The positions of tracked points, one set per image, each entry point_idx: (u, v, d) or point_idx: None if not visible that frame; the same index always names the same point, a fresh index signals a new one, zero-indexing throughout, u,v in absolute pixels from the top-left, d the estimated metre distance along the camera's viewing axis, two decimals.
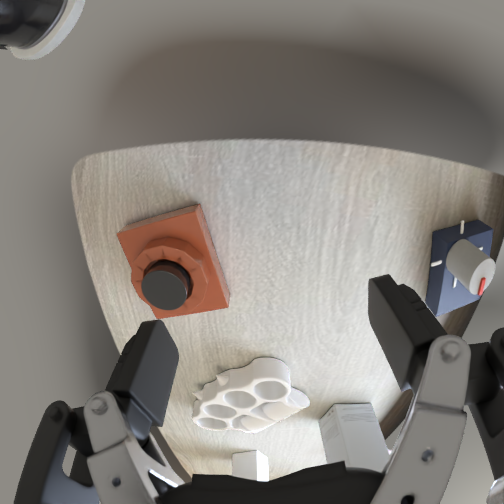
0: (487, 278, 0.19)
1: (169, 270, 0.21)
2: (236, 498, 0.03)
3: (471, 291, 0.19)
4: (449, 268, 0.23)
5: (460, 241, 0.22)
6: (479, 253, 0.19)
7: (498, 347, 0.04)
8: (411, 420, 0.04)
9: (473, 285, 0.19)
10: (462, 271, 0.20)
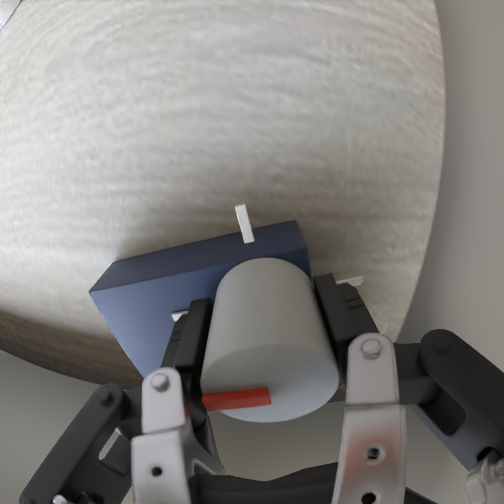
0: (262, 408, 0.07)
1: None
2: (236, 498, 0.03)
3: (213, 368, 0.07)
4: (236, 273, 0.10)
5: None
6: None
7: (428, 349, 0.05)
8: (344, 424, 0.04)
9: (239, 367, 0.07)
10: (268, 306, 0.07)
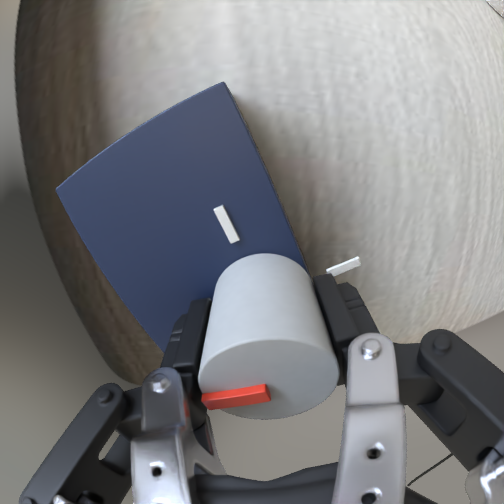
0: (264, 405, 0.07)
1: None
2: (236, 498, 0.03)
3: (208, 366, 0.07)
4: (231, 271, 0.10)
5: None
6: None
7: (428, 349, 0.05)
8: (345, 424, 0.04)
9: (234, 364, 0.06)
10: (260, 302, 0.07)
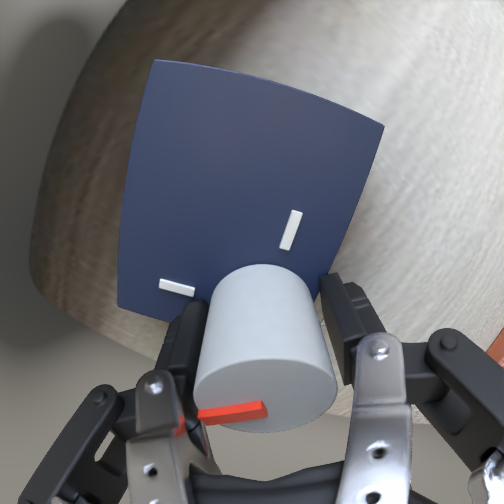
0: (262, 420, 0.07)
1: None
2: (236, 498, 0.03)
3: (202, 385, 0.06)
4: (226, 284, 0.09)
5: None
6: (328, 354, 0.07)
7: (436, 348, 0.05)
8: (351, 423, 0.04)
9: (228, 382, 0.06)
10: (254, 318, 0.07)
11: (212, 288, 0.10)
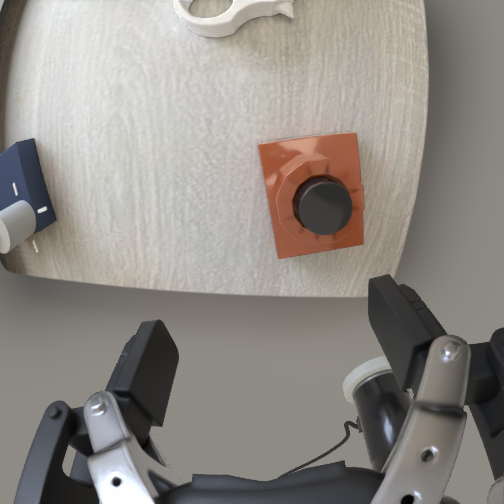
0: (2, 243, 0.17)
1: (312, 231, 0.20)
2: (236, 498, 0.03)
3: None
4: None
5: (25, 202, 0.20)
6: (9, 215, 0.17)
7: (498, 347, 0.04)
8: (411, 420, 0.04)
9: None
10: None
11: None
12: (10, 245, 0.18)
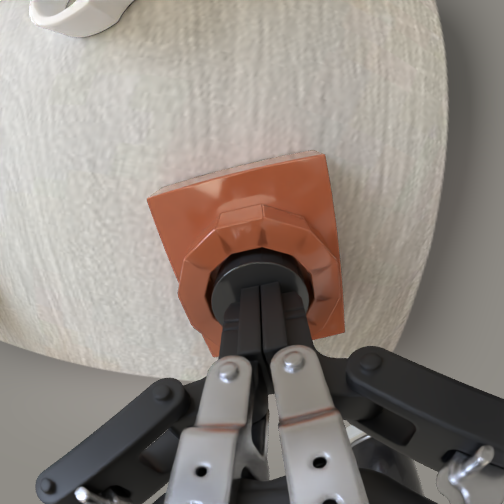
0: None
1: None
2: (236, 498, 0.03)
3: None
4: None
5: None
6: None
7: (354, 367, 0.06)
8: (281, 440, 0.04)
9: None
10: None
11: None
12: None
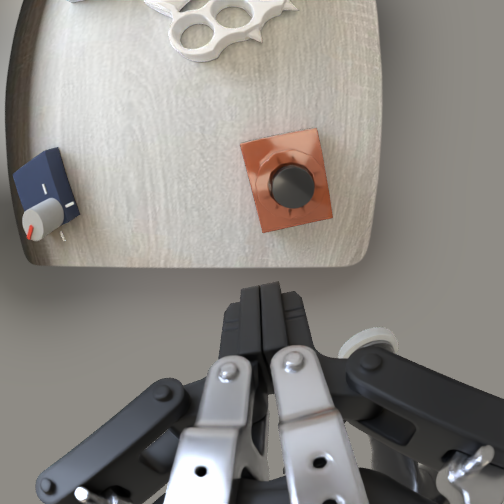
0: (36, 232, 0.24)
1: (284, 206, 0.26)
2: (236, 498, 0.03)
3: (23, 226, 0.24)
4: None
5: (54, 199, 0.27)
6: (42, 208, 0.24)
7: (354, 367, 0.06)
8: (281, 440, 0.04)
9: (25, 223, 0.24)
10: None
11: None
12: (43, 233, 0.24)
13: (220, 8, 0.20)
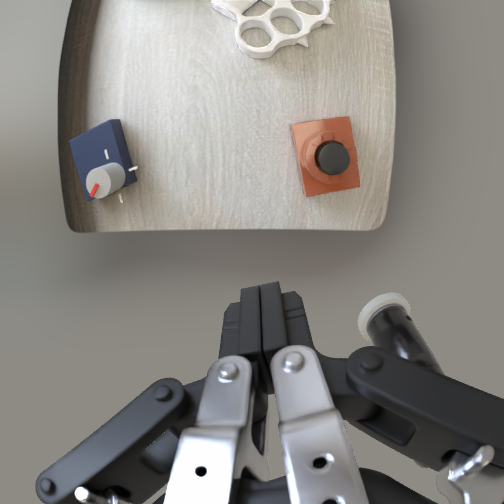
0: (101, 189, 0.30)
1: (327, 172, 0.32)
2: (236, 498, 0.03)
3: (86, 185, 0.30)
4: None
5: (117, 163, 0.33)
6: (108, 168, 0.30)
7: (354, 367, 0.06)
8: (281, 440, 0.04)
9: (89, 181, 0.29)
10: None
11: None
12: (109, 190, 0.30)
13: (273, 17, 0.26)
